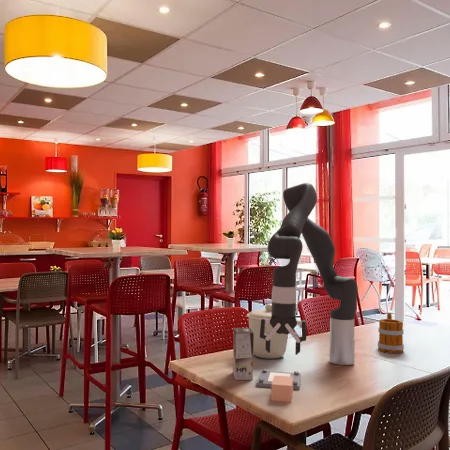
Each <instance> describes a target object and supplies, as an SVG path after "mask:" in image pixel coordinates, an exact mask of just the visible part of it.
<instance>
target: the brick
mask: <svg viewBox="0 0 450 450" xmlns="http://www.w3.org/2000/svg"><path fill="white" fill-rule="evenodd" d="M270 389H271V390H270V391H271V392H270V393H271V397H270V400H271V401H273V402H274V401H276V402H287V403H292V399H293V394H294V389H293V377H288V376H275V375H274V378H273V381H272V388H270Z"/></svg>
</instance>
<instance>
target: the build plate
mask: <svg viewBox="0 0 450 450" xmlns="http://www.w3.org/2000/svg"><path fill="white" fill-rule="evenodd" d="M274 375H275V376H288V377H293V390H296V391H297V390H298V391H300V387H301V380H302V373H300V371H297V370H296V371H293V372H286V371H285V372H284V371H275V370H274V371H271V370H270V371H269V370H267V368H262V370H260V371H259V375H258V378H257V379H256V383H255V386H256V387H257V388H258V387H259V388H270V389H271V388H272V381H273V378H274Z"/></svg>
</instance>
